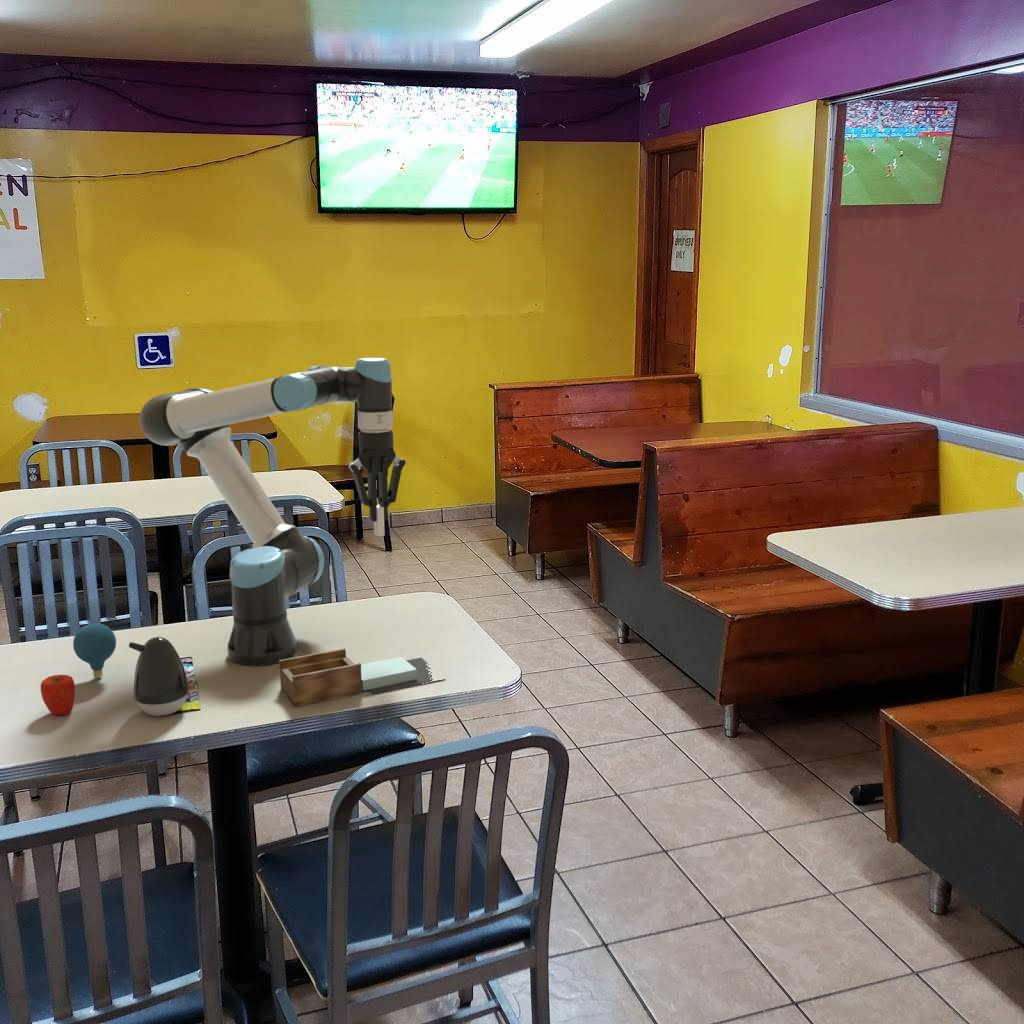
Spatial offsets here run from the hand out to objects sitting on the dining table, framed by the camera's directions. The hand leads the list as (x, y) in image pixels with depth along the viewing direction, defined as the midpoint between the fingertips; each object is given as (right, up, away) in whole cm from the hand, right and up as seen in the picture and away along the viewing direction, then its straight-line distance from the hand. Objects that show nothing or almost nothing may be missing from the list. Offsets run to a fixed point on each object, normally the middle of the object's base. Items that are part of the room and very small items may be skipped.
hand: (379, 534), depth 228 cm
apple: (-59, -34, -28) cm, 74 cm away
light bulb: (-58, -30, -11) cm, 66 cm away
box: (-10, -32, -19) cm, 38 cm away
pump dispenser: (-39, -34, -27) cm, 59 cm away
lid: (+2, -30, -13) cm, 33 cm away
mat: (+5, -30, -11) cm, 32 cm away
